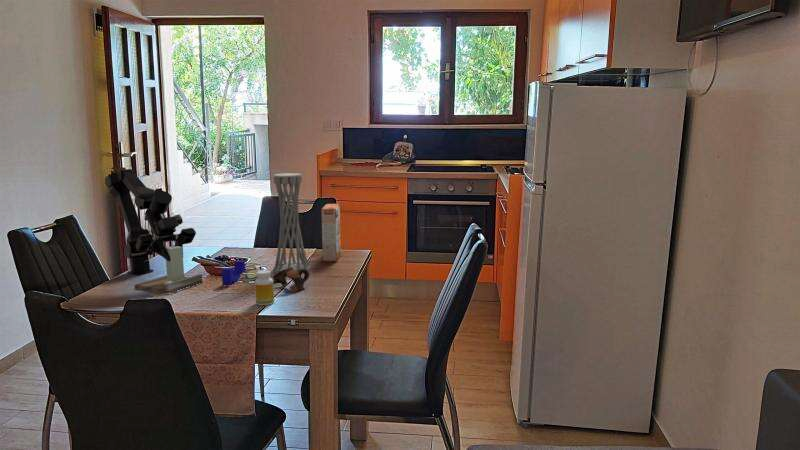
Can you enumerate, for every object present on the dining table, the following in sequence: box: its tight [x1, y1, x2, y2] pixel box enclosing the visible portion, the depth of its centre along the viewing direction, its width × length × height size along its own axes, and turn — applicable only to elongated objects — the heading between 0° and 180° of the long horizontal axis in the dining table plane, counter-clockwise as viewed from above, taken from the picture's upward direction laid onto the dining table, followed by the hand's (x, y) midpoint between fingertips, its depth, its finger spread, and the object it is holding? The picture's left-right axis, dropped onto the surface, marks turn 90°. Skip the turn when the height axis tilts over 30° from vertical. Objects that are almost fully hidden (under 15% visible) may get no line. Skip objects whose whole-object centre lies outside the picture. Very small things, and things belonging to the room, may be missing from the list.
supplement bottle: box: [254, 269, 275, 306], centre depth 177 cm, size 5×5×10 cm
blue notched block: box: [221, 260, 246, 286], centre depth 203 cm, size 12×4×6 cm, turn 171°
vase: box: [272, 172, 311, 274], centre depth 215 cm, size 14×13×35 cm
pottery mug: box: [271, 267, 310, 294], centre depth 194 cm, size 12×10×8 cm
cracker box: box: [321, 203, 342, 263], centre depth 234 cm, size 14×6×21 cm, turn 179°
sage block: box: [165, 245, 185, 282], centre depth 195 cm, size 4×4×11 cm
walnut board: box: [134, 273, 203, 294], centre depth 198 cm, size 16×14×3 cm
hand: (176, 259), depth 194 cm, fingers closed on sage block, 4 cm apart
